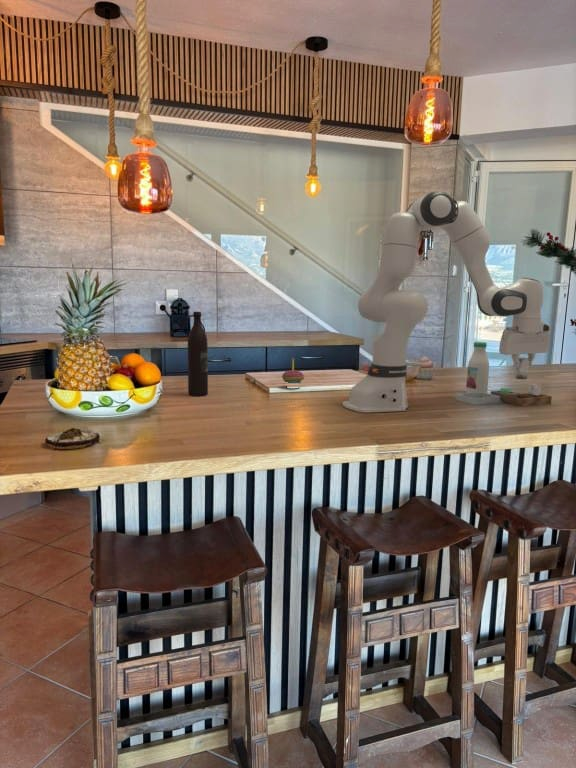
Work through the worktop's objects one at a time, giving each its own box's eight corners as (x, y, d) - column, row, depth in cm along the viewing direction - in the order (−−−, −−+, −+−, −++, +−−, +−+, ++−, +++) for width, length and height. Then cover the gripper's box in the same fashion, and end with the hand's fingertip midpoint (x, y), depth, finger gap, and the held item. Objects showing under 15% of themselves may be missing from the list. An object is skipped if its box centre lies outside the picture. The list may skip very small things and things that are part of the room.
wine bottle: (202, 397, 201) (201, 312, 196) (184, 395, 203) (183, 311, 198) (211, 393, 208) (210, 311, 202) (194, 392, 210) (193, 311, 205)
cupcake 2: (436, 378, 252) (437, 355, 250) (432, 381, 243) (434, 358, 242) (415, 376, 256) (416, 354, 254) (411, 379, 247) (412, 356, 245)
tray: (473, 406, 194) (474, 398, 194) (455, 401, 202) (456, 394, 202) (499, 403, 199) (500, 396, 199) (480, 398, 207) (481, 391, 207)
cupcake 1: (281, 386, 226) (281, 356, 224) (302, 386, 227) (302, 356, 224) (283, 390, 217) (283, 359, 215) (305, 389, 218) (305, 359, 216)
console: (504, 402, 200) (505, 394, 200) (490, 399, 206) (490, 391, 206) (519, 401, 203) (520, 393, 203) (504, 397, 209) (504, 389, 209)
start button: (505, 397, 202) (505, 389, 202) (497, 396, 205) (498, 387, 205) (512, 397, 204) (512, 389, 203) (504, 395, 207) (505, 387, 206)
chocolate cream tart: (68, 456, 132) (67, 439, 131) (28, 447, 139) (27, 430, 139) (117, 442, 144) (116, 426, 144) (77, 434, 152) (76, 419, 151)
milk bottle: (484, 393, 218) (488, 341, 214) (489, 397, 210) (493, 343, 207) (463, 392, 219) (467, 340, 215) (468, 396, 211) (472, 343, 208)
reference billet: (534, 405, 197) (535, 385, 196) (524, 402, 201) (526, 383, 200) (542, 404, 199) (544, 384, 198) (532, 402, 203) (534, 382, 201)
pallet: (519, 408, 192) (520, 399, 191) (501, 403, 199) (502, 395, 198) (550, 404, 198) (551, 396, 198) (532, 400, 205) (533, 392, 205)
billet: (521, 379, 193) (523, 359, 192) (512, 377, 197) (514, 357, 195) (530, 378, 195) (532, 358, 193) (520, 377, 198) (522, 357, 197)
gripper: (511, 328, 185) (507, 369, 188) (554, 326, 194) (550, 366, 196) (496, 326, 191) (493, 367, 193) (539, 325, 199) (535, 363, 202)
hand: (522, 366), depth 195 cm, fingers closed on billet, 4 cm apart
